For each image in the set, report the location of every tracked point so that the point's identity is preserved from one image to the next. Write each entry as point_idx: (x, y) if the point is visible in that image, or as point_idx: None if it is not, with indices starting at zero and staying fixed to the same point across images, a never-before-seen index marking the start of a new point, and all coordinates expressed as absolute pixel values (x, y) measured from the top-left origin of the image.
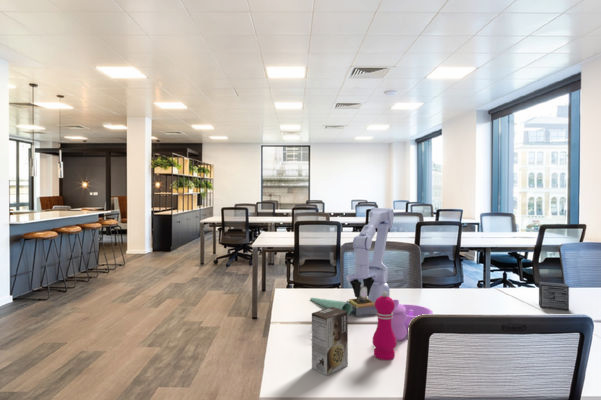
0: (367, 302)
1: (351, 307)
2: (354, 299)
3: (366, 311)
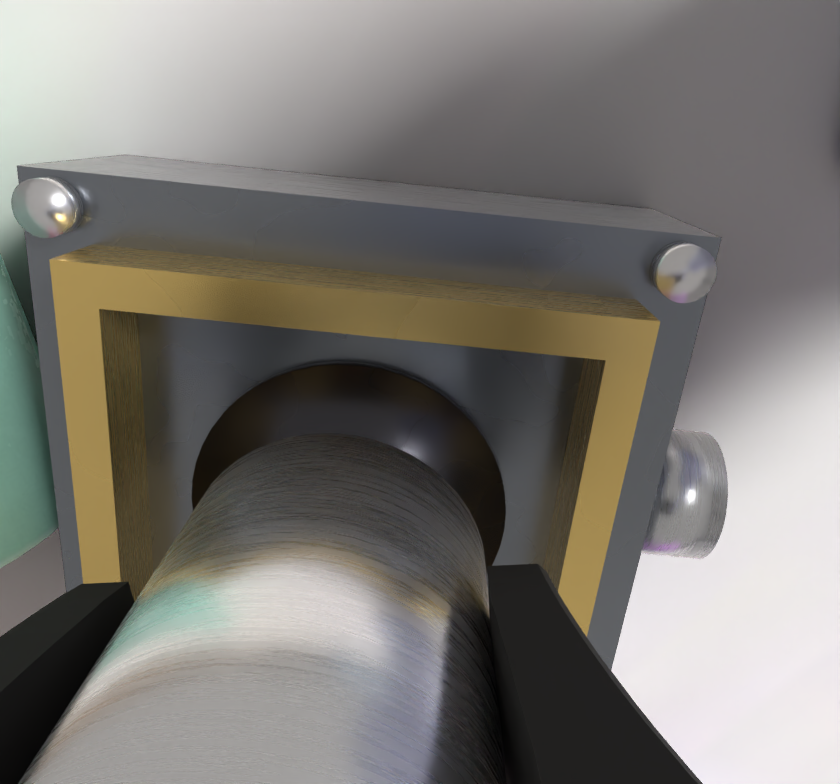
0: (549, 473)
1: (54, 529)
2: (227, 315)
3: None
